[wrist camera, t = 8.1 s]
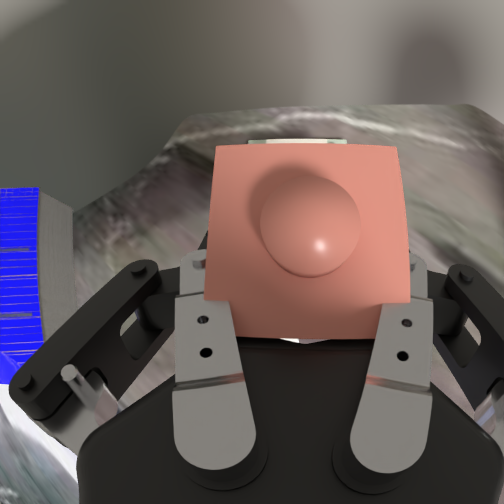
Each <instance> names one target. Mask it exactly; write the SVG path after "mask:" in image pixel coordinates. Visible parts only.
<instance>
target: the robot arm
mask: <svg viewBox="0 0 504 504" xmlns="http://www.w3.org/2000/svg"><path fill="white" fill-rule="evenodd" d="M207 239H208V231H207V233H206V236H205V237H204V239H203V241H202V243H201V244H200V246H199V248H198V250H196V251H193V252H190V253H188V254H187V255H185V256H184V257H183V258H182V260H181V262H180V267H177V268H172V269H166V270H161V271H159V268H158V265H157V263H156V262H154V261H152V260H139V261H135V262H133V263H131V264H129V265H127V266H126V267H125V268H124V269H122V270H121V271H120V272H119V273H118V274H117V275H116V276H115V277H113V278H112V279H111V280H110V281H109V282H108V283H107V284H106V285H105V286H103V287H102V288H101V289H100V290H99V291H98V292H97V293H96V294H95V295H94V296H92V297H91V298H90V299H89V300H88V301H87V302H86V303H85V304H84V305H83V306H82V307H81V308H80V309H79V310H77V311H76V312H75V313H74V314H73V315H72V316H71V317H70V318H69V319H68V320H67V321H66V322H65V323H64V324H63V325H62V326H61V327H60V328H59V329H58V330H57V331H56V332H55V333H54V334H53V335H52V336H51V337H50V338H49V339H48V340H47V341H46V342H45V343H44V344H43V345H42V346H41V347H40V348H39V349H38V350H37V351H36V352H35V353H34V354H33V355H32V356H31V357H30V358H29V359H28V360H27V361H26V362H25V363H24V364H23V365H22V366H21V367H20V368H19V370H18V371H17V372H16V373H15V374H14V375H13V377H12V379H11V381H10V384H9V395H10V397H11V399H12V400H13V401H14V402H15V403H16V404H17V405H18V406H19V407H20V408H21V409H22V410H23V411H24V412H25V413H26V414H27V416H28V417H29V418H30V419H31V420H32V421H33V422H34V423H35V424H37V425H38V426H39V427H40V428H41V429H42V430H43V431H44V432H46V433H47V434H48V435H49V436H51V437H53V438H54V439H56V440H57V441H58V442H59V443H60V444H62V445H63V446H65V447H67V448H69V449H70V450H71V451H72V452H73V453H75V454H76V455H77V456H78V457H77V464H76V470H77V478H78V485H79V504H498V501H499V497H500V494H501V491H502V488H503V484H504V299H503V298H502V296H501V295H500V294H499V293H498V292H497V291H496V290H495V289H494V288H493V287H492V286H491V285H490V284H489V283H488V282H487V281H486V280H485V278H484V277H483V276H482V275H481V274H480V273H479V272H478V271H476V270H475V269H473V268H472V267H470V266H467V265H463V264H455V265H452V266H451V267H450V268H449V270H448V273H447V275H445V274H441V273H436V272H432V271H429V270H427V265H426V262H425V261H424V260H423V259H422V258H421V257H419V256H418V255H416V254H413V253H411V252H410V250H409V263H410V303H383V304H382V308H381V313H380V317H379V321H378V325H377V329H376V333H375V338H374V339H330V340H325V341H320V342H315V343H309V344H301V343H297V342H292V341H288V340H284V339H280V338H259V337H240V336H235V331H234V326H233V320H232V315H231V310H230V305H229V301H215V300H204V283H205V267H206V253H207ZM134 311H135V314H136V316H137V319H136V321H135V322H134V323H133V324H132V325H131V326H130V327H129V328H128V329H127V330H126V331H125V332H124V334H123V335H122V336H121V337H120V329H121V326H122V324H123V323H124V322H125V321H126V320H127V318H128V317H129V316H130V315H131V314H132V313H133V312H134ZM468 317H469V318H470V320H471V321H472V322H473V323H474V325H475V326H476V327H477V329H478V330H479V332H480V335H481V343H480V345H478V344H477V342H476V341H475V340H474V338H473V337H472V336H471V334H470V333H469V332H468V330H467V329H466V328H465V326H464V325H465V323H466V321H467V319H468ZM174 329H175V374H174V375H173V376H172V377H170V378H169V379H167V380H166V381H165V382H163V383H162V384H160V385H159V386H158V387H156V388H155V389H153V390H152V391H151V392H149V393H148V394H146V395H145V396H143V397H142V398H141V399H139V400H138V401H136V402H135V403H133V404H132V405H130V406H129V407H127V408H126V409H124V410H123V411H122V412H120V413H119V414H117V415H116V413H117V409H118V404H117V401H118V400H119V399H120V398H121V396H122V395H123V394H124V393H125V391H126V390H127V389H128V388H129V386H130V385H131V384H132V383H133V381H134V380H135V379H136V378H137V376H138V375H139V374H140V373H141V371H142V370H143V369H144V368H145V366H146V365H147V364H148V363H149V361H150V360H151V359H152V358H153V356H154V355H155V354H156V353H157V351H158V350H159V349H160V348H161V346H162V345H163V344H164V343H165V341H166V340H167V339H168V338H169V336H170V335H171V334H172V333H173V331H174ZM433 344H434V346H435V347H436V349H437V350H438V352H439V353H440V355H441V357H442V358H443V360H444V361H445V363H446V364H447V366H448V368H449V369H450V371H451V372H452V374H453V376H454V377H455V379H456V380H457V382H458V384H459V385H460V387H461V389H462V390H463V392H464V394H465V396H466V397H467V399H468V401H469V402H470V404H471V406H472V408H473V409H474V411H475V414H474V420H473V419H472V418H471V417H470V416H468V415H467V414H466V413H465V412H464V411H463V410H462V409H461V408H460V407H458V406H457V405H456V404H455V403H454V402H453V401H452V400H451V399H450V398H448V397H447V396H446V395H445V394H444V393H443V392H442V391H441V390H440V389H438V388H437V387H436V386H435V385H434V384H433V383H432V382H431V381H430V376H431V363H432V345H433ZM115 415H116V416H115Z"/></svg>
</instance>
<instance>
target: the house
mask: <svg viewBox="0 0 504 504" xmlns="http://www.w3.org/2000/svg"><path fill="white" fill-rule="evenodd" d="M39 188H40V187H26V188H25V187H24V188H0V384H10V381H11V379H12V377H13V375H14V374H15V373H16V372H17V371H18V370H19V368H20V367H21V366H22V365H23V364H24V363H25V362H26V361H27V360H28V359H29V358H30V357H31V356H32V355H33V354H34V353H35V352H36V351H37V350H38V349H39V348H40V347H41V346H42V345H43V344H44V343H45V342H46V341H47V340H48V339H49V338H50V337H51V336H52V335H53V334H54V333H55V332H56V331H57V330H58V329H59V328H60V327H61V326H62V325H63V324H64V323H65V322H66V321H67V320H68V319H69V318H70V317H71V316H72V315H73V314H74V313H75V312H76V311H77V310H78V306H77V297H76V287H75V275H74V259H73V232H72V214H73V208H71V207H70V206H68V205H66V204H64V203H62V202H60V201H58V200H56V199H54V198H52V197H50V196H49V195H47V194H45V193H43V192H41V191H39Z"/></svg>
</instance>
